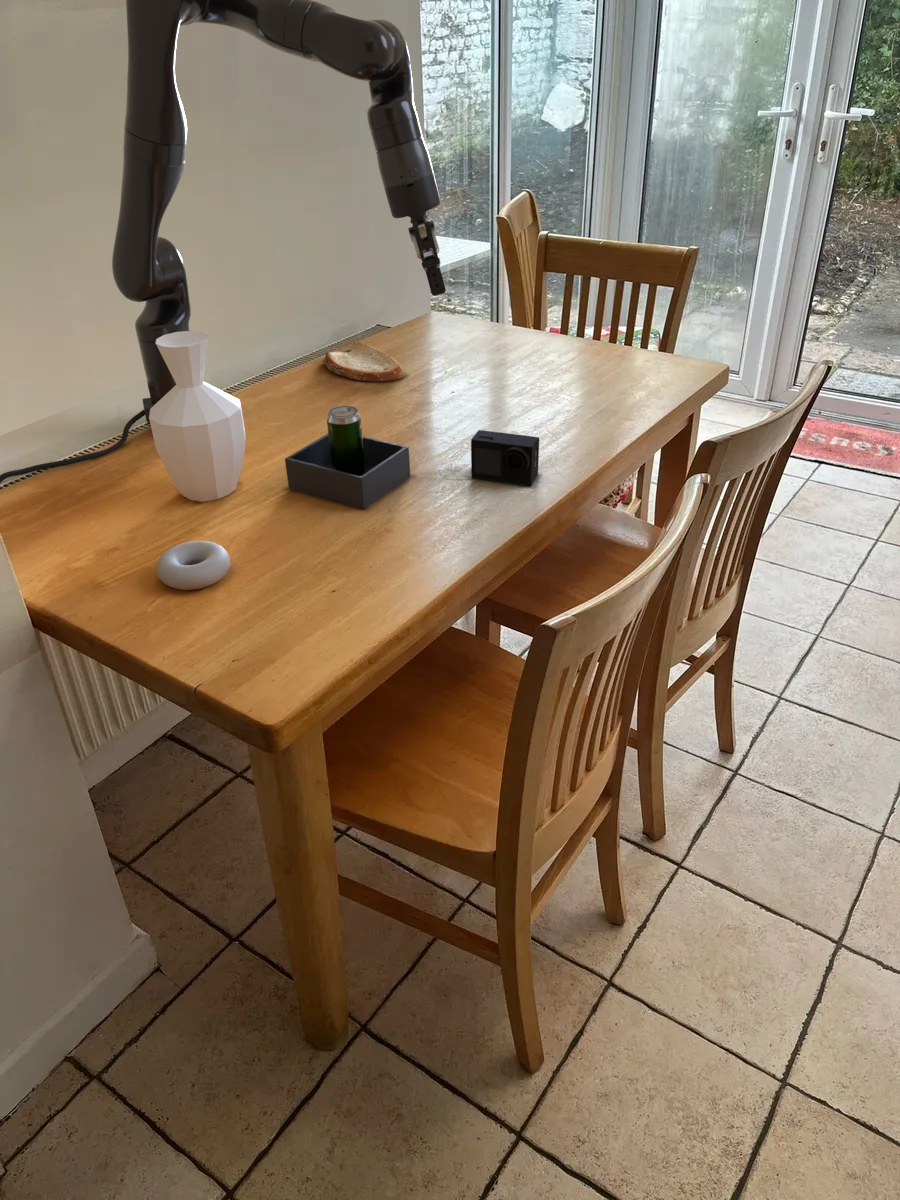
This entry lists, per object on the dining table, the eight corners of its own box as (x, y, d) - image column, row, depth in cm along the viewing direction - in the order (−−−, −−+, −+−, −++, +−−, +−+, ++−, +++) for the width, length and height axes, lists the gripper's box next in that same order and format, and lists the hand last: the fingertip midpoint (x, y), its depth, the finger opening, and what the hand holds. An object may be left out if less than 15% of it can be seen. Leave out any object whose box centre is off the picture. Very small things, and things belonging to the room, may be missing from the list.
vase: (178, 518, 139) (143, 361, 125) (157, 483, 149) (123, 334, 135) (266, 497, 144) (242, 343, 130) (240, 464, 154) (215, 319, 140)
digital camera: (468, 481, 147) (467, 442, 143) (478, 467, 151) (478, 429, 147) (529, 490, 144) (530, 450, 140) (538, 475, 148) (539, 436, 144)
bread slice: (403, 381, 186) (402, 364, 184) (317, 383, 186) (315, 366, 184) (407, 353, 200) (406, 336, 198) (328, 355, 201) (326, 338, 199)
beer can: (343, 490, 144) (335, 421, 137) (327, 478, 148) (320, 410, 141) (372, 481, 146) (366, 412, 140) (356, 470, 150) (350, 402, 144)
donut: (236, 555, 129) (165, 558, 129) (232, 534, 127) (161, 537, 127) (227, 593, 121) (152, 596, 120) (223, 571, 119) (147, 575, 118)
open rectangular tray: (364, 509, 139) (361, 478, 136) (288, 488, 146) (284, 458, 143) (410, 476, 149) (408, 446, 146) (337, 458, 155) (334, 429, 152)
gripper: (383, 182, 137) (413, 288, 145) (383, 188, 124) (415, 304, 132) (430, 168, 136) (457, 275, 144) (435, 172, 124) (464, 290, 131)
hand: (437, 289), depth 138 cm, fingers open, 8 cm apart
